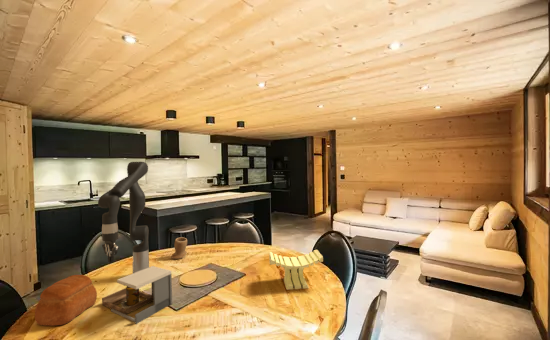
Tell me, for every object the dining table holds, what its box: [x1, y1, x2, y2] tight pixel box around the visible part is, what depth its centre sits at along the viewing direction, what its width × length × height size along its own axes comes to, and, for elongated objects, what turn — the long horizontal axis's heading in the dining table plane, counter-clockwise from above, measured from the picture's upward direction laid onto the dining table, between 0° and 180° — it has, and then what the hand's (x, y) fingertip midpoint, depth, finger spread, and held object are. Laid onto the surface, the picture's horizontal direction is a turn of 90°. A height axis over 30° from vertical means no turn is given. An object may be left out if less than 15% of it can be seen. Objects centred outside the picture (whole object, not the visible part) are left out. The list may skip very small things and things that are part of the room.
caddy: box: [101, 287, 154, 315], centre depth 138 cm, size 20×16×4 cm
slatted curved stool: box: [268, 249, 324, 290], centre depth 157 cm, size 30×16×18 cm, turn 96°
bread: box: [34, 274, 98, 327], centre depth 128 cm, size 18×22×17 cm
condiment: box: [120, 286, 141, 309], centre depth 137 cm, size 7×8×12 cm
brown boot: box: [170, 236, 188, 260], centre depth 207 cm, size 15×12×15 cm
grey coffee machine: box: [110, 265, 173, 325], centre depth 132 cm, size 22×19×18 cm
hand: (111, 262), depth 145 cm, fingers closed
